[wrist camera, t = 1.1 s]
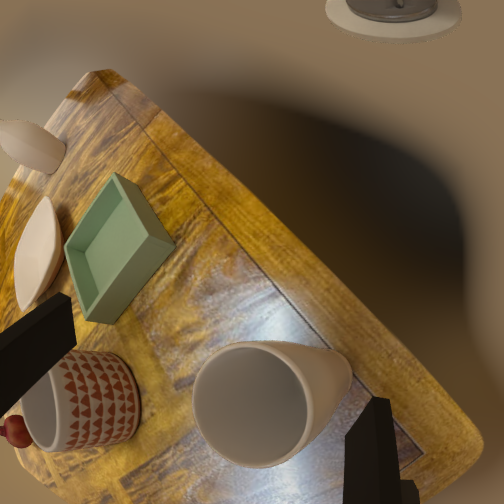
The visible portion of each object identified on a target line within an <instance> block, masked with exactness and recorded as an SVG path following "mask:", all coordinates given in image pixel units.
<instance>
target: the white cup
mask: <svg viewBox="0 0 504 504" xmlns="http://www.w3.org/2000/svg"><path fill="white" fill-rule="evenodd" d="M352 378H353V375H352V369H351V366H350V364H349V362H348V360H347V359H346V358H345V357H344V356H343V355H342V354H341V353H339V352H337V351H335V350H332V349H326V348H316V347H311V346H307V345H303V344H299V343H294V342H288V341H277V340H260V341H247V342H246V341H245V342H237V343H233V344H230V345H227V346H225V347H222V348H221V349H219V350H217V351H216V352H214V353H213V354H212V355H211V356H210V357H209V358H208V359H207V360H206V361H205V362H204V364H203V365H202V366H201V368H200V370H199V372H198V374H197V376H196V379H195V381H194V385H193V390H192V410H193V415H194V419H195V422H196V425H197V427H198V429H199V431H200V433H201V435H202V437H203V438H204V440H205V441H206V442H207V444H208V445H209V446H210V447H211V448H212V449H213V450H214V451H215V452H216V453H217V454H218V455H220V456H221V457H223V458H224V459H226V460H227V461H229V462H231V463H234V464H236V465H239V466H242V467H247V468H255V469H258V468H269V467H273V466H276V465H279V464H282V463H284V462H286V461H287V460H289V459H290V458H292V457H293V456H294V455H296V454H297V453H299V452H300V451H301V450H302V449H304V448H305V447H306V446H307V445H309V444H310V443H311V442H312V441H313V440H314V439H315V438H316V437H317V436H318V435H319V434H320V433H321V432H322V430H323V429H324V428H325V427H326V425H327V424H328V422H329V421H330V419H331V418H332V416H333V414H334V413H335V411H336V409H337V407H338V406H339V404H340V402H341V401H342V399H343V398H344V397H345V396H346V394H347V393H348V391H349V389H350V387H351V384H352Z"/></svg>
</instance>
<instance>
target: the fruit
mask: <svg viewBox="0 0 504 504" xmlns="http://www.w3.org/2000/svg"><path fill="white" fill-rule="evenodd" d="M0 435H1V436H4V437H6V439H7V441H8V442H9V443H10V444H11V445H13V446H14V447H17V448H26V447H28V446H30V445H31V443H32V441H33V439H32V437H31V435H30V433H29V431H28V429H27V427H26V424H25V421H24V418H23V416H21V415H11V416H9V417H8V418H6V419H5V422H4V426H0Z"/></svg>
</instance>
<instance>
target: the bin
mask: <svg viewBox="0 0 504 504" xmlns="http://www.w3.org/2000/svg"><path fill="white" fill-rule="evenodd" d="M175 248H176V245H175V244H174V242H173V241H172V239H171V238H170V236H169V235H168V233H167V232H166V230H165V229H164V227H163V225H162V224H161V222H160V221H159V219H158V218H157V216H156V215H155V213H154V211H153V210H152V208H151V207H150V205H149V204H148V202H147V200H146V199H145V197H144V196H143V194H142V192H141V191H140V189H139V188H138V186H137V185H136V184H135V183H133V182H131V181H129V180H128V179H126V178H124V177H122V176H121V175H119V174H117V173H115V172H113V174H112V175H111V176H110V178H109V179H108V180H107V182H106V183H105V185H104V186H103V187H102V189H101V190H100V192H99V193H98V194H97V196H96V197H95V199H94V200H93V202H92V203H91V205H90V206H89V207H88V209H87V210H86V212H85V213H84V215H83V216H82V218H81V220H80V221H79V223H78V224H77V226H76V227H75V229H74V230H73V232H72V234H71V235H70V237H69V239H68V240H67V242H66V244H65V245H64V251H65V255H66V259H67V263H68V267H69V270H70V274H71V277H72V281H73V284H74V288H75V291H76V294H77V297H78V300H79V303H80V307H81V309H82V312H83V315H84V318H85V321H91V322H97V323H104V324H110V325H113V324H114V323H115V321H116V320H117V319H118V318H119V316H120V315H121V314H122V313H123V311H124V310H125V309H126V307H127V306H128V305H129V304H130V302H131V301H132V300H133V299H134V297H135V296H136V295H137V294H138V292H139V291H140V290H141V289H142V287H143V286H144V285H145V284H146V282H147V281H148V280H149V279H150V278H151V276H152V275H153V274H154V273H155V272H156V270H157V269H158V268H159V267H160V265H161V264H162V263H163V262H164V261H165V260H166V258H167V257H168V256H169V255H170V254H171V252H172V251H173V250H174V249H175Z"/></svg>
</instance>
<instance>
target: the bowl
mask: <svg viewBox="0 0 504 504" xmlns="http://www.w3.org/2000/svg"><path fill="white" fill-rule="evenodd" d="M64 257H65V251H64V238H63V233H62V230H61V227H60V225H59V222H58V219H57V215H56V212H55V209H54V206H53V203H52V201H51V199H50V198H49V197H48V196H45V197H44V198H43V199H42V200H41V201H40V203H39V204H38V206H37V207H36V209H35V211H34V212H33V214H32V216H31V217H30V219H29V221H28V223H27V225H26V227H25V229H24V232H23V234H22V236H21V239H20V241H19V244H18V247H17V250H16V253H15V261H14V279H15V289H16V296H17V300H18V304H19V307H20V309H21V311H22V312H24V311H25V310H26V309H27V308H28V307H29V306H31V305H32V304H33V303H34V302H35V301H36V300H37V299H38V298H39V297H40V296H41V295H42V294H43V293H44V292H45V291H47V289H48V288H49V287H50V285H51V284H52V282H53V281H54V279H55V277H56V276H57V274H58V271H59V269H60V267H61V265H62V263H63V260H64Z"/></svg>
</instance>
